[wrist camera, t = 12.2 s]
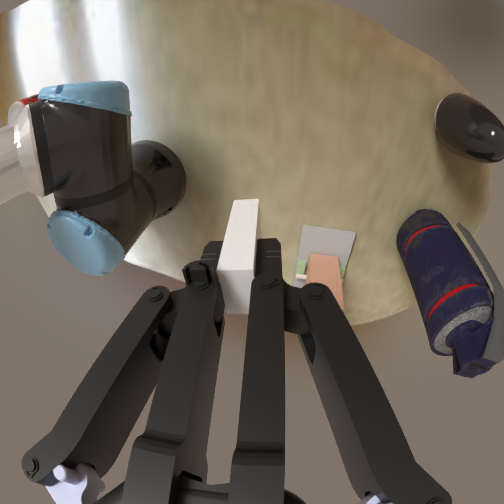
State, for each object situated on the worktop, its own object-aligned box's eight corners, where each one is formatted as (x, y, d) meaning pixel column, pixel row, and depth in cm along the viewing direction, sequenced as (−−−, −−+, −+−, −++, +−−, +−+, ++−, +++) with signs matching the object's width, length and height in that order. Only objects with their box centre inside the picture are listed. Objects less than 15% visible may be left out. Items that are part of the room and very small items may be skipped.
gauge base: (292, 283, 58) (291, 290, 56) (302, 224, 49) (302, 230, 47) (337, 288, 57) (337, 295, 55) (355, 231, 48) (356, 237, 46)
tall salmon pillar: (296, 271, 54) (293, 322, 44) (299, 251, 51) (297, 303, 41) (341, 276, 53) (347, 327, 43) (347, 257, 50) (355, 309, 40)
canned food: (65, 89, 36) (26, 102, 28) (63, 124, 41) (26, 142, 33) (44, 89, 36) (7, 102, 27) (43, 121, 41) (8, 138, 32)
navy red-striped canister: (421, 264, 49) (463, 393, 26) (383, 242, 48) (421, 388, 25) (461, 217, 41) (534, 340, 17) (425, 186, 39) (512, 321, 16)
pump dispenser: (461, 157, 34) (509, 196, 22) (418, 131, 34) (464, 164, 22) (479, 109, 28) (534, 135, 16) (436, 79, 28) (490, 91, 16)
